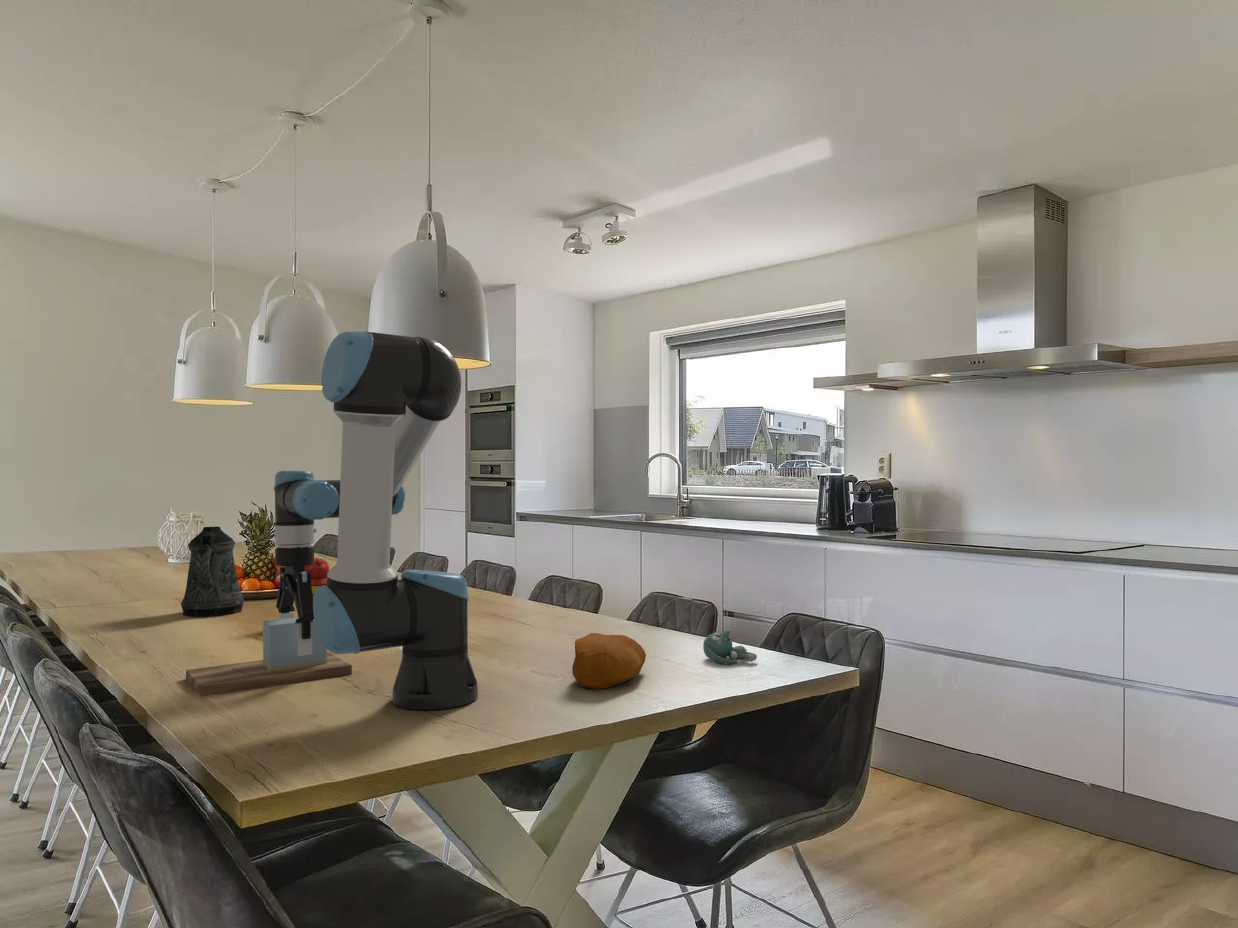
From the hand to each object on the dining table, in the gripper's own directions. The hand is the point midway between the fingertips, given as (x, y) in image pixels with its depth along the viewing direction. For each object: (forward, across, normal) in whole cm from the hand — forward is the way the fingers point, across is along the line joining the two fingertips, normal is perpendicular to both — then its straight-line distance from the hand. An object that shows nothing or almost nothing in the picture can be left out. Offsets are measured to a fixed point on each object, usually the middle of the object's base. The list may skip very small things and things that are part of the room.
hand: (295, 649), depth 176 cm
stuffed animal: (+5, -45, -78) cm, 91 cm away
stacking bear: (+5, +53, -20) cm, 57 cm away
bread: (+5, -44, -49) cm, 66 cm away
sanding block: (+3, 0, 0) cm, 3 cm away
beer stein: (+5, +90, -1) cm, 90 cm away
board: (+5, 0, +5) cm, 7 cm away
